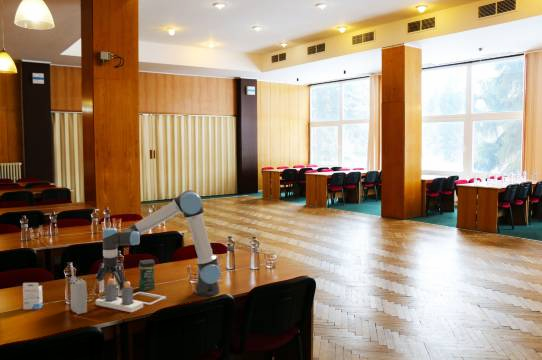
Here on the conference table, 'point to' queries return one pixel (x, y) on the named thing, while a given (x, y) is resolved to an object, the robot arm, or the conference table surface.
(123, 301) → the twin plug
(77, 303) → the jerry can
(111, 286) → the grey bottle
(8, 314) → the conference table surface
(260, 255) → the conference table surface
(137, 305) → the strip
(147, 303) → the tray
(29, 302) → the ink box
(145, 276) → the coffee jar
